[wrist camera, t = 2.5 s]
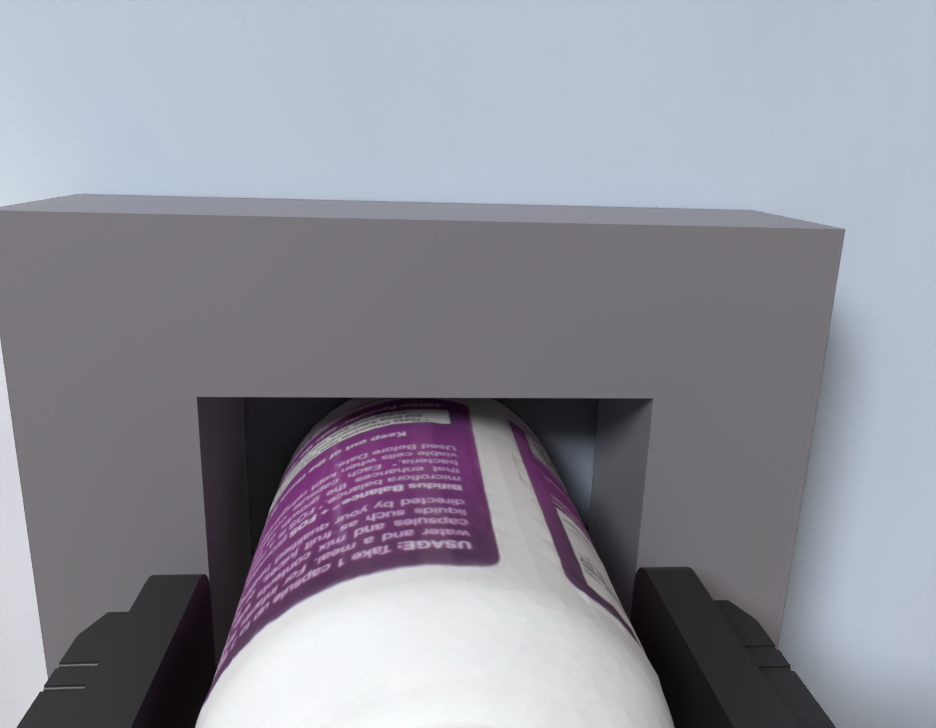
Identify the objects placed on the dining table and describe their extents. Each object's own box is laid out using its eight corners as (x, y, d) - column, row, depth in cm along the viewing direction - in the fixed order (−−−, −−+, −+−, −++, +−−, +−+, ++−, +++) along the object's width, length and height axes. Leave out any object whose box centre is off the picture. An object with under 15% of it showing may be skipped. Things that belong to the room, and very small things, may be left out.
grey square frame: (753, 210, 14) (845, 229, 11) (684, 747, 17) (741, 872, 14) (77, 194, 13) (-18, 209, 10) (138, 766, 16) (79, 904, 13)
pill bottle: (248, 593, 15) (3, 1311, 6) (321, 339, 14) (155, 744, 5) (510, 655, 16) (655, 1363, 7) (601, 420, 15) (936, 899, 5)
